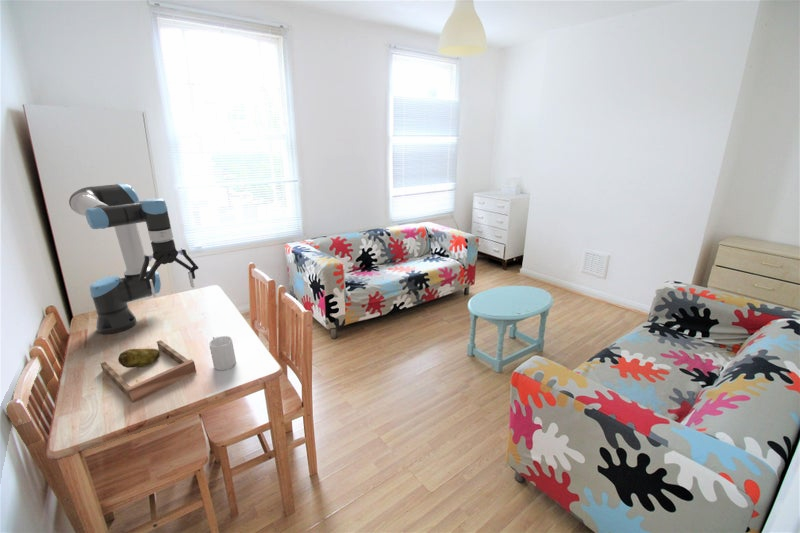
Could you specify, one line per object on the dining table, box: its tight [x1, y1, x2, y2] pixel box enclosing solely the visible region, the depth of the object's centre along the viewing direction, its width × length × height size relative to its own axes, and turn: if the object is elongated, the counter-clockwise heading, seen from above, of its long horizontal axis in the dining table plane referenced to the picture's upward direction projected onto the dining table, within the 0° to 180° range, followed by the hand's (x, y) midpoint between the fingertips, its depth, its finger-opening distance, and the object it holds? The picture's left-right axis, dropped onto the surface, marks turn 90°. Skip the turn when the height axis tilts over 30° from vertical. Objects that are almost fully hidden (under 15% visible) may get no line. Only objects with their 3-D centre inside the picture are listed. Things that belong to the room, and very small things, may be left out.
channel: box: [100, 339, 197, 403], centre depth 140 cm, size 30×21×5 cm
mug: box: [208, 335, 237, 371], centre depth 144 cm, size 12×8×10 cm, turn 43°
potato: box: [117, 348, 161, 369], centre depth 143 cm, size 8×13×8 cm, turn 125°
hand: (173, 291), depth 148 cm, fingers open, 13 cm apart
